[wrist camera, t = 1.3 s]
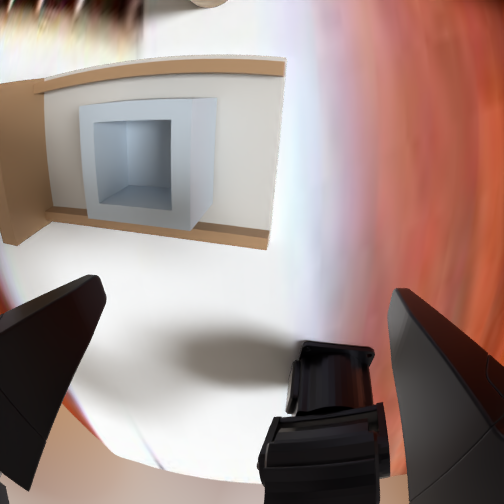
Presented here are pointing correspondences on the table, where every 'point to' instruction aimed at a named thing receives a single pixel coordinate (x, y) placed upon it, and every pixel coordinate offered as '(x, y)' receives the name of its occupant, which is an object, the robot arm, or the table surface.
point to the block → (149, 160)
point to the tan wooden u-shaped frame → (144, 87)
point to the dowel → (208, 3)
